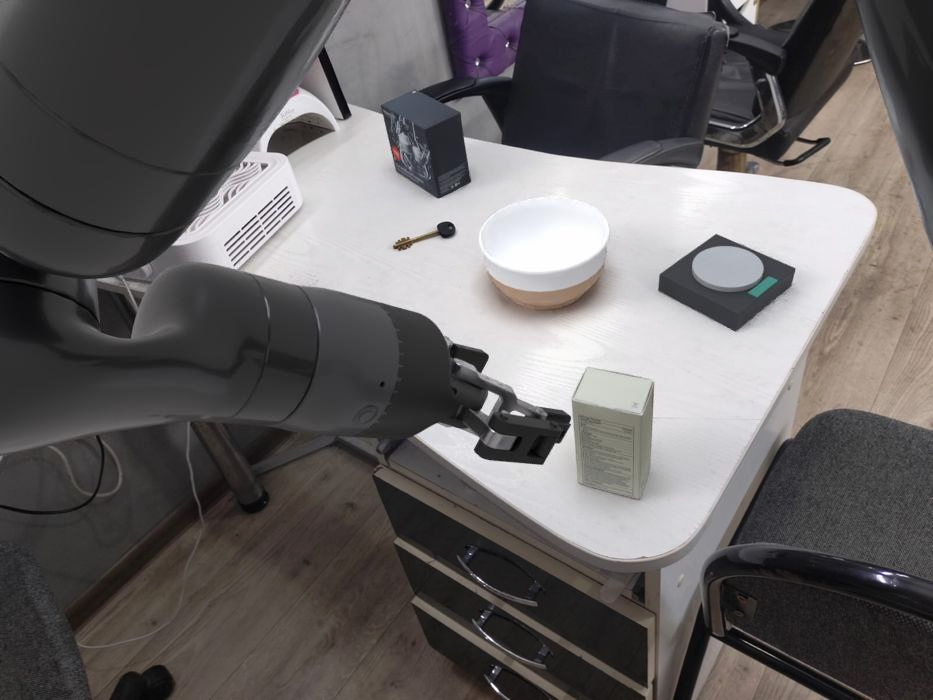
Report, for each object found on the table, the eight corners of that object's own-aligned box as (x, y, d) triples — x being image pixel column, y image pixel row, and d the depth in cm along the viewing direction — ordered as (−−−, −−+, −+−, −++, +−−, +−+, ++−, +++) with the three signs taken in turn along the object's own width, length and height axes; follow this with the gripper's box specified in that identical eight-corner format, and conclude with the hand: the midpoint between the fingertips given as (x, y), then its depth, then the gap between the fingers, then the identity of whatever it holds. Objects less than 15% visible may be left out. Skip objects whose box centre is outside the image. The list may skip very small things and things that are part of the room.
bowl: (558, 341, 80) (555, 289, 75) (459, 293, 89) (451, 243, 84) (634, 271, 88) (636, 219, 82) (536, 233, 96) (533, 183, 91)
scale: (791, 285, 82) (797, 262, 79) (735, 331, 78) (739, 308, 75) (713, 250, 89) (716, 228, 86) (658, 290, 84) (659, 268, 82)
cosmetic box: (651, 466, 66) (659, 379, 58) (639, 501, 63) (646, 416, 55) (587, 448, 68) (586, 363, 60) (573, 482, 66) (570, 398, 57)
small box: (393, 171, 115) (378, 103, 107) (427, 156, 117) (414, 87, 109) (437, 199, 106) (424, 127, 98) (472, 182, 109) (462, 110, 101)
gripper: (459, 371, 31) (622, 401, 44) (308, 250, 40) (479, 304, 52) (389, 505, 33) (565, 498, 45) (259, 361, 42) (436, 388, 54)
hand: (519, 394), depth 49 cm, fingers open, 8 cm apart
